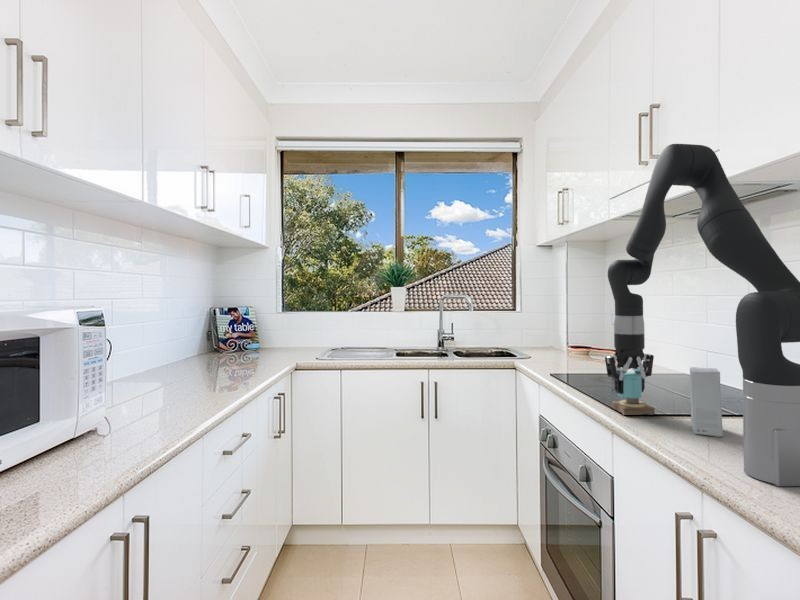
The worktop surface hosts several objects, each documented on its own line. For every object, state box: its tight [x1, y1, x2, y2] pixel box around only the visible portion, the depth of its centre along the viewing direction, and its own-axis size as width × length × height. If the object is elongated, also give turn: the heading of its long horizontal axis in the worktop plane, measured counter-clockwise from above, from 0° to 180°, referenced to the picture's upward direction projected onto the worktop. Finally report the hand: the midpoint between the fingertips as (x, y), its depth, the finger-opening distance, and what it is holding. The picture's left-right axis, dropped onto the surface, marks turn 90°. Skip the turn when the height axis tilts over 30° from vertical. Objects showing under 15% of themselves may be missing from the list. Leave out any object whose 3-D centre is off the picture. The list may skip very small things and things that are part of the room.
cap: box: [617, 371, 643, 399], centre depth 128 cm, size 6×6×6 cm
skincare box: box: [689, 367, 724, 438], centre depth 110 cm, size 8×6×15 cm
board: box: [611, 397, 656, 416], centre depth 128 cm, size 8×8×6 cm
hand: (629, 392), depth 128 cm, fingers closed on cap, 5 cm apart
